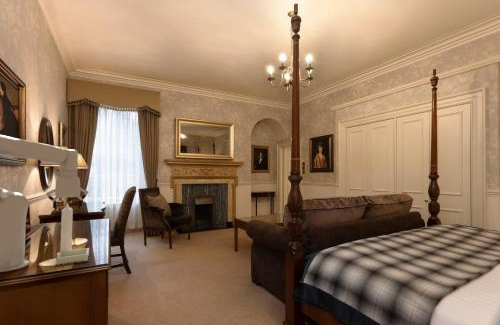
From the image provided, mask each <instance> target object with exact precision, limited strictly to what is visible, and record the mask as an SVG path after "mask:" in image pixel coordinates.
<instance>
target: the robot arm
mask: <svg viewBox="0 0 500 325" xmlns="http://www.w3.org/2000/svg"><path fill="white" fill-rule="evenodd" d="M78 155H79V153H78V150H76V149H71V148H70V149H69V148H68V149H67V148H61V147H59V146H55V145H51V144H46V143H42V142H37V141H32V140H27V139H22V138H17V137H12V136H7V135H3V134H0V157H5V158H10V159H30V160H37V161H40V163H43V164H47V165H51V164H59V165H58V168H59V169H58V171H55V175H56V176H57V177H56V181H55V188H54V189H52V190H50V191H47V192H46V193H45V195H46V196H47V198H48V199H49V200H50V201H52V209H54V210H55V211H57V210H58V199H59V198H60V199H62V198H63V199H64V198H77V199H78V208H77V209H81V207H83V200H84V199H86V197H87V196H88V194H89V190H86V189H84V188H82V187H81V181H80V180H81V179H80V177H79V176H78V167H79V166H78V161H79V160H78V159H79V158H78V157H79V156H78ZM81 192H83V193H84V194H83V195H82V196H81ZM53 193H55V194H54V196H55V197H53V196H52V195H51V194H53ZM28 209H29V201H28V198H27V197H26V196H25V195H24V194H22V193H21V192H17V191H9V190H6V189H5V188H2V187H0V273H4V272H10V271H11V272H12V271H14V270H19V269H22V268H25V267H27V266H28V265H30V260H28V259H25V255H26V254H25V253H26V252H25V251H26V224H27V223H26V221H27V220H26V219H27V215H28Z"/></svg>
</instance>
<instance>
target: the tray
mask: <svg viewBox="0 0 500 325" xmlns="http://www.w3.org/2000/svg"><path fill="white" fill-rule="evenodd" d="M59 252H60V253H59ZM59 252H58V253H59V254H58V253H57V254H58V256H57V255H56V258H55V260H56V261H55V262H56V266H61V265H60V264H62V265H67V263H69V264H74V263H73V262H77V263H81V262H82V263H84V262H88V260H89V257H88V256H90V248H89V247H87V248H77V249H72V250H67V251H61V250H60V251H59Z"/></svg>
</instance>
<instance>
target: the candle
mask: <svg viewBox="0 0 500 325" xmlns="http://www.w3.org/2000/svg"><path fill="white" fill-rule="evenodd" d="M73 211H74V210H73V208H71V207H70V206H69V202H66V205H65V206H64V208H63V209H61V219H60V220H61V222H60V223H61V226H60V251H67V250H73V218H74V217H73V216H74V215H73V213H74V212H73ZM60 251H59V252H57V254H56V257H57V256H58V254H59V253H60Z"/></svg>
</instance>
